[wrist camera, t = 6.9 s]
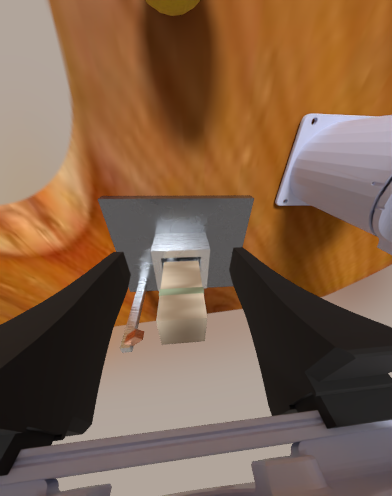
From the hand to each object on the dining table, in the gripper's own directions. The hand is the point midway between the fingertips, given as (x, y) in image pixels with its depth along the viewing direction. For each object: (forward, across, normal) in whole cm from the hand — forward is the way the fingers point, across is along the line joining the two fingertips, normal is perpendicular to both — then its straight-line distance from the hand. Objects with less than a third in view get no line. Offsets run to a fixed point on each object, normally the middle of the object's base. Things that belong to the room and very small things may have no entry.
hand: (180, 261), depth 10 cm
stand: (+9, 0, +5) cm, 10 cm away
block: (+4, 0, +5) cm, 6 cm away
